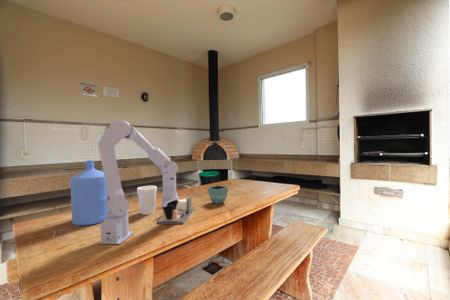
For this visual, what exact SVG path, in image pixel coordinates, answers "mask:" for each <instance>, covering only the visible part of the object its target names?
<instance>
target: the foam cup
mask: <svg viewBox="0 0 450 300" xmlns="http://www.w3.org/2000/svg"><path fill="white" fill-rule="evenodd" d="M136 192H137V197H138V202H139V208H140V213H141V215H143V216H145V215H147V216H148V215H152V214H154V213H155V208H156V200H157V198H156V197H157V192H158V187H157V186H156V185H145V186H143V185H142V186H138V187H137V189H136Z"/></svg>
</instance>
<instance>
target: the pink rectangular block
mask: <svg viewBox="0 0 450 300" xmlns="http://www.w3.org/2000/svg"><path fill="white" fill-rule="evenodd" d="M182 214H183V213H178V210H173V215H172V219H171V220H167V219H166V215H165V212H164V210H163V209H162V216H163V221H177V220H178V219H179V218H180V217H181V215H182Z"/></svg>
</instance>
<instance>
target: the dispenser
mask: <svg viewBox="0 0 450 300" xmlns="http://www.w3.org/2000/svg"><path fill="white" fill-rule="evenodd" d="M176 210H178V213H183V214H182V215H181V217H180V218H179V219H178V220H177V221H163V215H161V217H160V218H159V219H158V220H157V221H156V224H163V225H164V224H165V225H166V224H170V225H171V224H172V225H174V224H175V225H184V224H185V223H186V221H187V220H188V219H189V217H190V216H191V214H193V212H194V210H195V207H192V196H189V197H187V199H178V204H177V206H176Z"/></svg>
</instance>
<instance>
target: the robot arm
mask: <svg viewBox="0 0 450 300" xmlns="http://www.w3.org/2000/svg"><path fill="white" fill-rule="evenodd" d="M120 140H128V141H133V143H135V144H136V145H137V146H139V148H141V149H142V150H143V151H144V152H146V153H147V156H148V159H149V160H150V161H151V162H152V163H153V164H154V165H156V166H157V167H158V168H159V170H160V171H161V172H162V199H161V202H160V203H161V204H160V205H161V209H162V211H163V210H164V212H165V215H166V219H167V220H171V219H172V215H173V210H176V206H177V204H178V200H180V196H178V193H177V172H178V171H179V166H178V164H177V163H176V161H173V160H171V157H170V156H167V155H166V153H164V150H163V148H159V147H153V145H152V144H151V143H150V142H149V140H147V139H146V138H145V137H144V136H143V135H142V134H141V133H140V132H139V131H138V130H137V129H136V128H135V127H134V126H133V125H131V124H130V123H129V122H128V121H126V120H125V119H117V120H115V121H113V122H111V123H109V124H108V126H106V127H105V128H104V130H103V132H102V135H101V136H100V139H99V140H98V143H97V145H98V151H99V156H100V160H101V167H102V172H104V177H105V182H106V187H107V200H106V207H107V208H108V209H109V211H108V213H107V217H106V219H105V221H103V222H101V225H100V241H99V242H98V244H99V245H100V244H101V245H103V244H104V245H121V244H122V243H123V242H124V241H125V240H127V239H128V238H130V237H131V236H132V235H133V234H134V233H135V232H134V231H130V229H129V227H130V226H129V225H130V224H129V209H130V203H129V201H128V199H126V196H125V193H124V190H123V187H122V183H121V182H122V181H121V177H120V171H119V167H118V161H117V155H116V152H115V147H116V145H117V144H119V142H120Z"/></svg>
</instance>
